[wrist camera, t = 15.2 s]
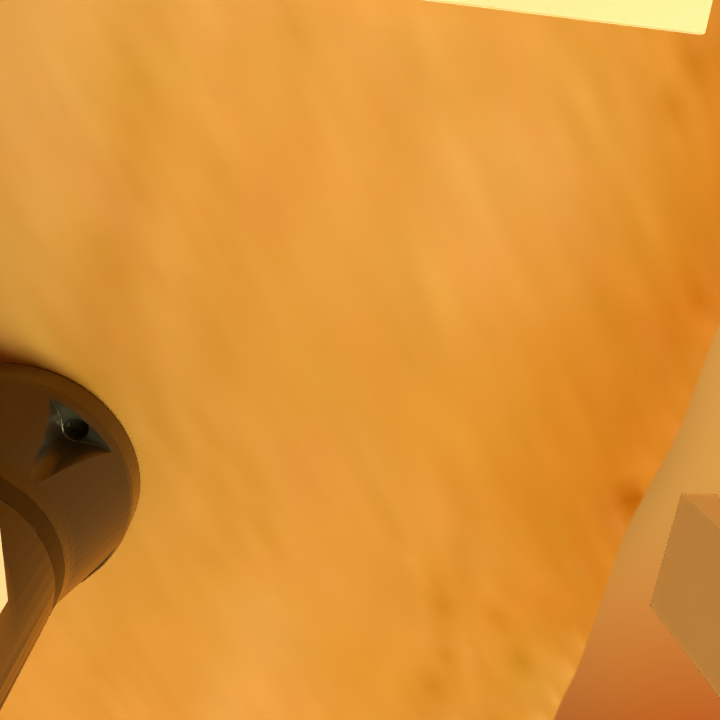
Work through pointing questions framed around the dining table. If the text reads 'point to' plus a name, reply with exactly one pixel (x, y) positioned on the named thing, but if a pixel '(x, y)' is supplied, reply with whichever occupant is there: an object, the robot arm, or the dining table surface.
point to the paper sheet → (612, 11)
